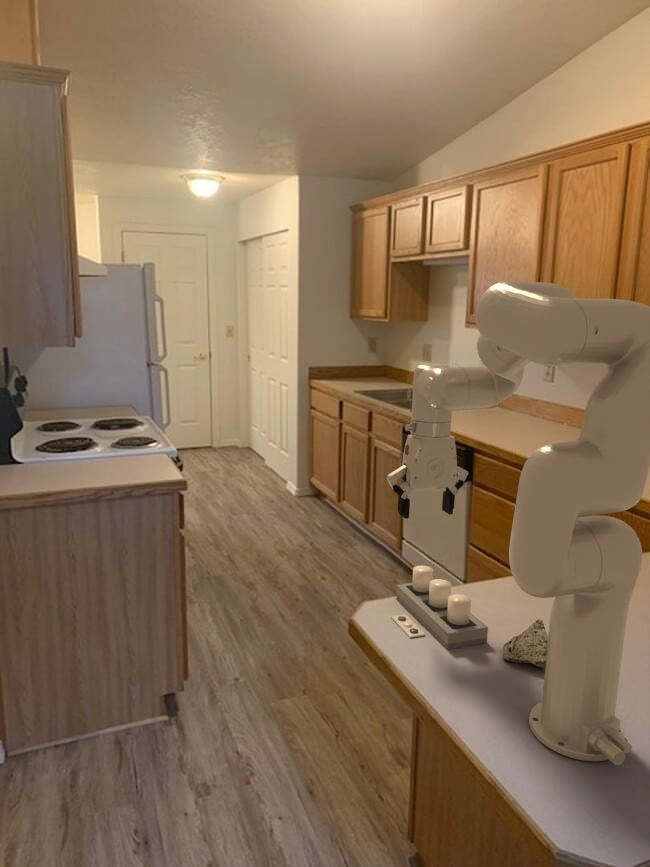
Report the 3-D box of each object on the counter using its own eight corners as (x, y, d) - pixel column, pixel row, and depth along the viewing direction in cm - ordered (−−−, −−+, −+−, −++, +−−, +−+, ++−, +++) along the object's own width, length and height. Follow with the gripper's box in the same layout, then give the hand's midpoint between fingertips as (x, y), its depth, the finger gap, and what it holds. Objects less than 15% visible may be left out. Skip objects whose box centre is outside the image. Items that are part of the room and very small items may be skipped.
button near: (473, 623, 116) (475, 602, 115) (454, 626, 114) (455, 605, 114) (462, 613, 119) (463, 593, 119) (442, 616, 118) (444, 595, 117)
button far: (435, 591, 129) (437, 572, 128) (417, 593, 127) (418, 574, 127) (426, 583, 132) (427, 564, 132) (408, 585, 131) (409, 566, 130)
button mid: (453, 606, 122) (455, 586, 121) (435, 609, 121) (436, 589, 120) (443, 597, 126) (444, 578, 125) (425, 600, 125) (426, 580, 124)
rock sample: (486, 623, 115) (528, 601, 111) (511, 642, 118) (553, 622, 114) (498, 675, 106) (544, 653, 103) (525, 694, 110) (570, 674, 106)
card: (424, 635, 118) (425, 633, 118) (410, 638, 117) (410, 635, 117) (405, 615, 125) (405, 613, 125) (391, 618, 124) (391, 615, 124)
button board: (486, 642, 116) (487, 627, 115) (447, 649, 113) (448, 633, 112) (430, 593, 135) (431, 580, 134) (396, 598, 132) (396, 584, 132)
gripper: (398, 434, 118) (393, 524, 121) (480, 430, 123) (474, 516, 127) (381, 427, 125) (377, 512, 128) (460, 423, 130) (454, 505, 134)
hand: (425, 514), depth 127 cm, fingers open, 9 cm apart
